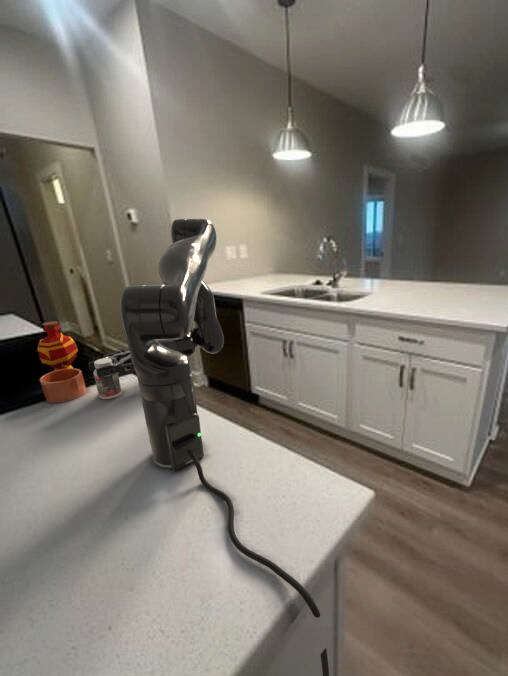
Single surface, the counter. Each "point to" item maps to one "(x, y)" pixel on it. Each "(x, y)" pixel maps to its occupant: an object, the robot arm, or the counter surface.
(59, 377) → the pot
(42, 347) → the potion bottle
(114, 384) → the pill bottle
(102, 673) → the counter surface
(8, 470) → the counter surface
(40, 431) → the counter surface
